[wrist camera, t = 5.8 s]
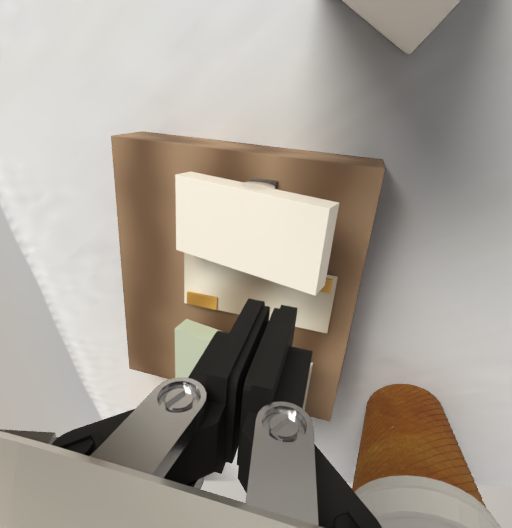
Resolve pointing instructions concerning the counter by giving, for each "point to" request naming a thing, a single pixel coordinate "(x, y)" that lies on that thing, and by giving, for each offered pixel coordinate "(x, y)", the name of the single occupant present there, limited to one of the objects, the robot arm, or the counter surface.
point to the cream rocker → (256, 229)
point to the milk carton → (403, 18)
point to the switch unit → (225, 278)
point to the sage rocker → (198, 348)
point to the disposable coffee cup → (415, 465)
